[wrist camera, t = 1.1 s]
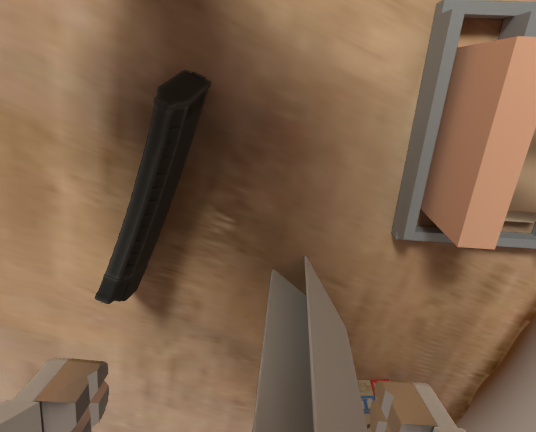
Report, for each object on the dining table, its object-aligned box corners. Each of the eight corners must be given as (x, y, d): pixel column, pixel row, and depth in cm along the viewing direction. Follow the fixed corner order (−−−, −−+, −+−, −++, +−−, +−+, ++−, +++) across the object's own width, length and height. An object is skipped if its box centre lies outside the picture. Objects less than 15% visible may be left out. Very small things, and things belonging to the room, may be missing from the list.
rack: (436, 3, 35) (455, -7, 31) (627, 9, 34) (674, -1, 30) (391, 232, 45) (401, 248, 41) (537, 242, 44) (563, 259, 40)
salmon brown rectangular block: (449, 49, 37) (517, 36, 25) (482, 50, 36) (565, 37, 25) (415, 204, 43) (457, 246, 32) (443, 205, 43) (494, 249, 32)
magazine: (167, 39, 30) (50, 333, 33) (201, 55, 30) (82, 346, 33) (198, 88, 47) (119, 279, 50) (219, 99, 47) (140, 288, 50)
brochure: (271, 269, 49) (240, 522, 21) (305, 254, 47) (322, 503, 20) (313, 340, 53) (334, 627, 25) (346, 328, 52) (406, 618, 24)
